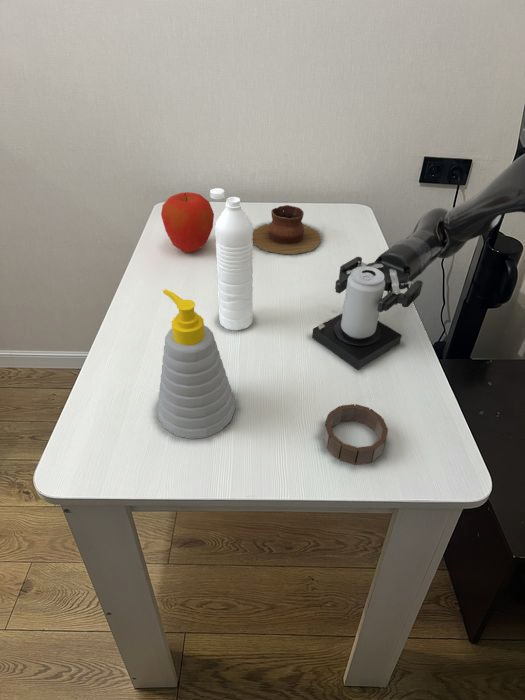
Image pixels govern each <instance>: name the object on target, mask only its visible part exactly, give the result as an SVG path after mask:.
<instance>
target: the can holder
mask: <svg viewBox="0 0 525 700" xmlns="http://www.w3.org/2000/svg"><path fill="white" fill-rule="evenodd" d="M352 421H353V422H355V423H359V424H364V425H366V426H367V427H368V428H369V429H370V430H372V431H373V432H374V433H375V436H376V438H377V441H376V442H374V443H373V444H372V445H367V446H354V445H351V444H347V443H345V442H343V441H342V440H340V439H339V438H338V437H337V436H336V435H335V434H334V432H333V429H332V428H334V427H335V426H337V425H338V424H340V423H344V422H345V423H346V422H352ZM388 429H389V428H388V426H387V424H386V422H385V420H384V417H382V416H381V415H380V414H379V413H378V412H376V411H375V410H373V409H372V408H370V407H367V406H364V405H360V404H357V403H356V404H354V403H351V404H342V405H339V406H337V407H336V408H334V409H332V410H331V411H329V413H328V414H327V417H326V419H325V422H324V428H323V433H322V438H323V442H324V445H325V447H326V450H327V451H328V452H329V453H331V455H333V456H334V457H335V458H336V459H337V460H339V461H340V462H344V463H347V464H351V465H366V464H371V463H373V462H374V461H376V460H377V459H378V458H379V457H381V456H382V454H383V452H384V449H385V445H386V441H387V437H388V433H389V430H388Z"/></svg>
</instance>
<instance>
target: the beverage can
mask: <svg viewBox="0 0 525 700" xmlns="http://www.w3.org/2000/svg"><path fill="white" fill-rule="evenodd" d="M384 288H385V280H384V274H383V273H382V272H381V271H380V270H378V269H376V268H373V267H367V266H362V267H357V268H355V269H353V270H352V271H351V275H350V276H349V277H348V281H347V288H346V289H345V296H344V301H343V309H342V313H343V315H342V321H341V328H342V330H343V331H344V332H345V333H346V334H347V335H349V336H350V337H353V338H358V339H362V338H366V337H369V336H371V335H373V334H374V333H375V331H376V327H377V322H378V321H379V316H380V312H379V311H377V309H378V304H379V301H380V300H381V299H382V298H384V293H385V291H384Z"/></svg>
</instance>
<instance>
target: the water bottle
mask: <svg viewBox="0 0 525 700" xmlns="http://www.w3.org/2000/svg"><path fill="white" fill-rule="evenodd" d="M225 195H226V193H225V190H224V189H223V188H219V187H216V188H212V189H210V190H209V197H210V198H211V199H214V200H222V199H224V198H225V197H226V196H225ZM225 201H226V202H225V203H224V204H225V205H224V206H225V208H224V209H223V211H222V212H221V214H220V215H219V217H218V219H217V220H216V222H215V226H214V235H215V252H216V254H215V255H216V275H217V293H218V295H217V296H218V297H217V298H218V318H219V319H218V320H219V324H220V325H221V326H222V327H224V328H225V329H226V330H230V331H231V330H232V331H242V330H246V329H247V328H249V327H250V325H252V324H253V291H254V290H253V288H254V287H253V283H254V279H253V278H254V277H253V273H254V272H253V271H254V270H253V259H254V257H253V255H254V253H253V251H254V250H253V249H254V248H253V245H254V244H253V240H252V239H253V232H254V228H253V223H252V221H251V219H250V218H249V216H248V215H247V213H246V212H245V211H244V209H243V208H242V205H243V204H242V202H241V198H240V197H238V196H230V197H227V198H226V200H225Z"/></svg>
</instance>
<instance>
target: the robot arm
mask: <svg viewBox="0 0 525 700" xmlns="http://www.w3.org/2000/svg"><path fill="white" fill-rule="evenodd" d="M512 213H523V214H525V153H523V154H522V155H520V156H519V157H517V158H516V159H515V160H513V162H512V163H510V164H509V165H508V166H507V167H506V168H504V170H503V171H501V173H499V174H498V175H497V176H496V177H494V179H492V181H490V182H489V183H488V184H487V185H485V187H484V188H482V189H481V190H480V191H479V192H478V193H476V194H475V195H474V196H472V197H470V198H469V199H466V200H465V201H463V202H461V203H459V204H457V205H455V206H453V207H452V208H450V209H447V208H444V207H434V208H431V209H430V210H428V211H427V212H425V213H424V214H423V215H422V216H421V218H420V219H419V220H418V221H417V223H416V225H415V227H414V229H413V231H412V233H411V234H409V235H408V236H407V237H406V238H403V239H401V240H400V241H398V242H396V243H395V244H393V245H392V246H391V247H389V248H388V249H387V250H384V252H382V253H381V254H380V255H378V257H377V258H376V259H375V260H374V261H373V262H369V263H365V262H363V257H361V256H356V257H354V258H352V259H350V260H349V261H347V262H345V263H344V264H342V265H341V266H339V268H340V269H339V274H338V279H337V280H336V281H335V286H334V289H335V293H337V294H342V293H343V292H344V291H346V288H347V281H348V277H349V276H350V275H351V271H352V270H353V269H355V268H357V267H362V266H367V267H373V268H376V269H378V270H380V271H381V272H382V273H383V274H384V280H385V288H384V292H386V295H384V296H383V298H382V299H381V300H380V301H379V304H378V309H377V311H379V313H383V312H388V311H389V310H390V309H391V308H392V307H394V306H397V305H398V304H399V305H401V306H402V308H404V309H405V308H409V307H410V306H411V305H412V304H413V302H414V301H415V300H416V299H417V298H418V297H419V296H420V295H421V291H422V288H423V284H424V283H423V280H419V279H417V277H419V276H420V275H421V274H422V273H423V272H424V271H425V270H426V269H427V267H428V266H430V265H431V264H432V263H433V262H435V261H436V260H437V259H448V258H450V257H453V256H454V255H456V254H457V253H458V252H459V251H461V250H462V248H463V247H465V245H466V244H467V243H468V241H471V240H473V239H475V238H477V237H480V236H482V235H484V234H487V233H489V232H490V231H492V230H493V229H494V228H495V227H496V226H497V225H498V223H499V222H500V220H501V217H502V215H506V214H512ZM415 279H417V280H416V281H415V282H413V281H414V280H415ZM405 289H407V290H406V291H405V292H404V293H402V292H401V290H405Z"/></svg>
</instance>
